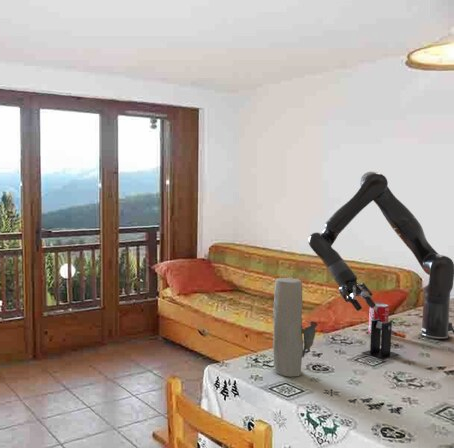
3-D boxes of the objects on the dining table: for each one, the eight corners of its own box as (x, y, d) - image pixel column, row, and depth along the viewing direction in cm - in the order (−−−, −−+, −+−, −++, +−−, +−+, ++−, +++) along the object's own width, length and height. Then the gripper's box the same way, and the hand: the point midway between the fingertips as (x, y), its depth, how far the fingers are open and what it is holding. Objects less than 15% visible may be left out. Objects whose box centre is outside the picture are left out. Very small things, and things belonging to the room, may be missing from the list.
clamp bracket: (377, 351, 182) (379, 316, 181) (398, 357, 175) (400, 321, 174) (361, 355, 176) (362, 320, 175) (382, 362, 170) (383, 325, 169)
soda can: (383, 334, 204) (385, 302, 203) (390, 339, 196) (391, 306, 195) (365, 333, 204) (367, 302, 203) (371, 338, 197) (373, 306, 196)
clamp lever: (386, 335, 183) (388, 329, 184) (404, 340, 178) (406, 333, 178) (369, 325, 177) (371, 319, 177) (387, 330, 171) (389, 323, 172)
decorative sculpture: (316, 370, 161) (319, 279, 159) (315, 381, 152) (318, 284, 150) (272, 365, 165) (275, 276, 163) (269, 375, 156) (272, 281, 154)
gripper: (336, 269, 192) (362, 305, 183) (359, 267, 200) (384, 300, 191) (324, 281, 197) (348, 316, 188) (347, 277, 205) (371, 311, 196)
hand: (366, 308), depth 190 cm, fingers open, 8 cm apart
